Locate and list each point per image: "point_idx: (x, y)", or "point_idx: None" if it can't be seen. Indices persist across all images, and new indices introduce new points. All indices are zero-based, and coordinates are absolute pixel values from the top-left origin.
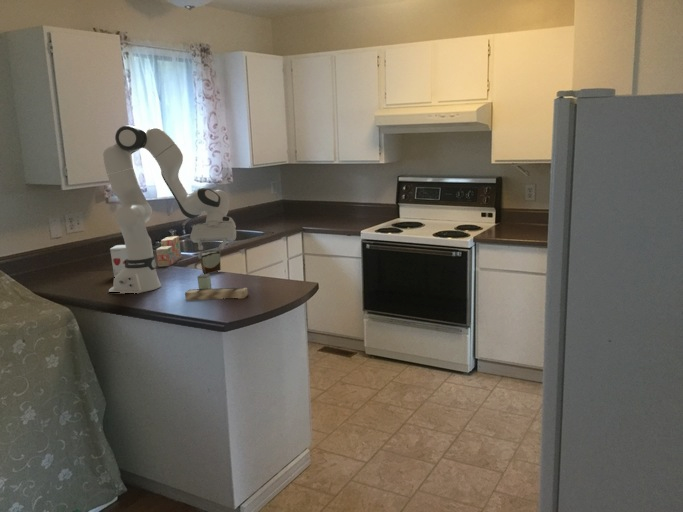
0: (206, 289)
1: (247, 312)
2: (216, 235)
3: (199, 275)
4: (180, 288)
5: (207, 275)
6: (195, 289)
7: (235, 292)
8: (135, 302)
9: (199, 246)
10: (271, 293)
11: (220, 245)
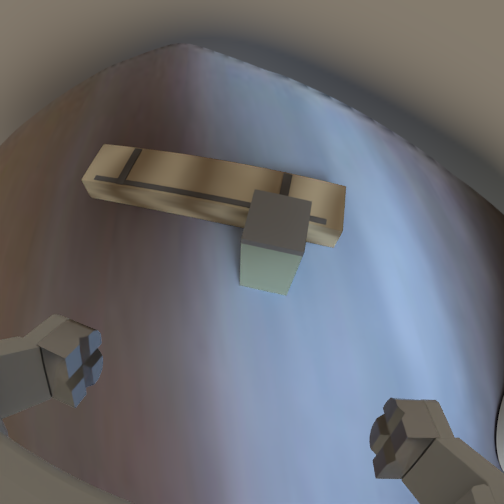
0: None
1: (132, 72)
2: (12, 501)
3: (306, 226)
4: None
5: (252, 209)
6: (310, 215)
7: (132, 150)
8: (494, 237)
9: (429, 414)
10: (26, 195)
11: (62, 334)
